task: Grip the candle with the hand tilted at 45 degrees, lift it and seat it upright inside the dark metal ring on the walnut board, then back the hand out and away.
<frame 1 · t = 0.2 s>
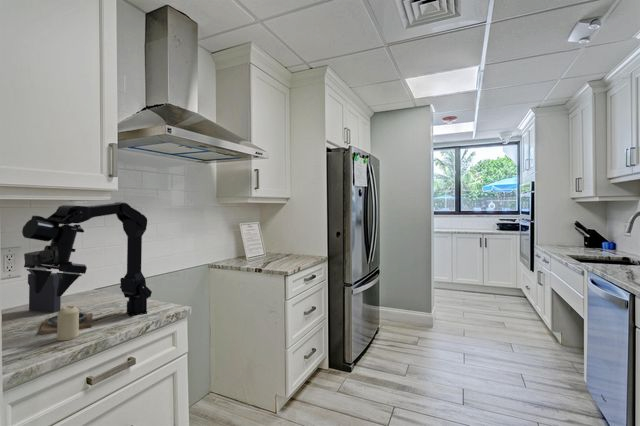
hand: (47, 294, 99), 16 cm above the countertop, tool tilted 15°, fingers open, 9 cm apart
navy upright box: (44, 311, 131), on the countertop
dock: (68, 324, 117), on the countertop
candle: (68, 338, 106), on the countertop
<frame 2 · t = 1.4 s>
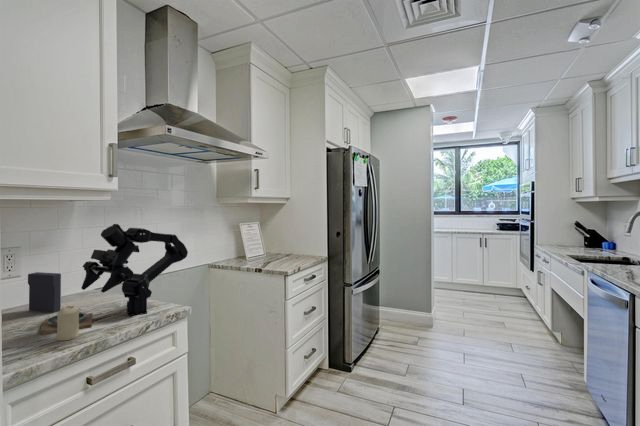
hand: (92, 290, 114), 13 cm above the countertop, tool tilted 45°, fingers open, 9 cm apart
nothing on the countertop moved.
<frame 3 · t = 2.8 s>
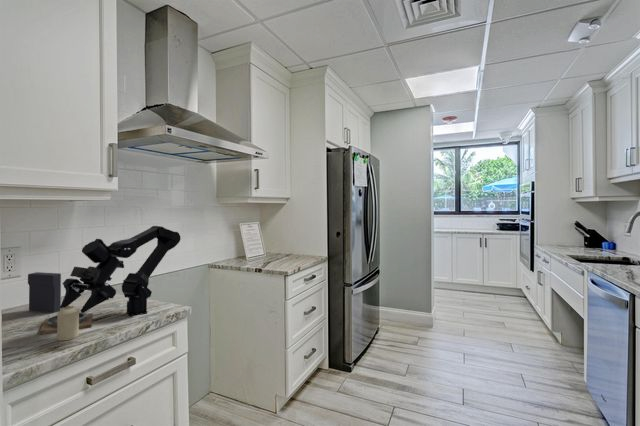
hand: (71, 310, 107), 9 cm above the countertop, tool tilted 45°, fingers open, 9 cm apart
nothing on the countertop moved.
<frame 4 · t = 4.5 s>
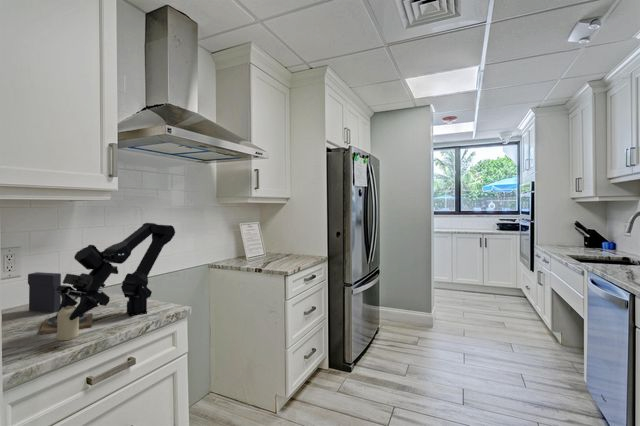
hand: (63, 318, 105), 7 cm above the countertop, tool tilted 45°, fingers closed on candle, 5 cm apart
candle: (68, 338, 106), on the countertop, touching gripper
everything else where it was.
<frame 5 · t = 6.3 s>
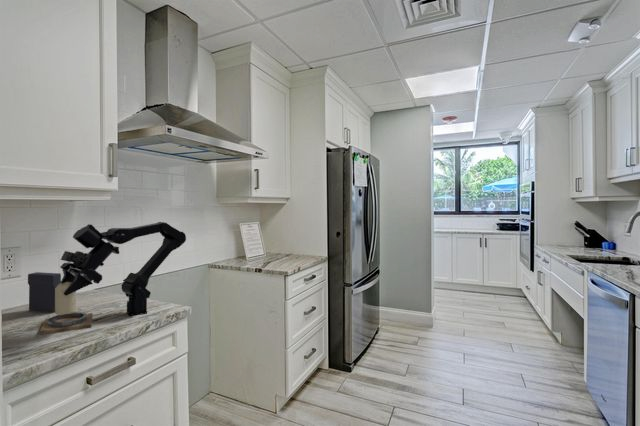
hand: (60, 293, 110), 13 cm above the countertop, tool tilted 45°, fingers closed on candle, 5 cm apart
candle: (65, 312, 111), point 6 cm above the countertop, touching gripper
everything else where it was.
when the fingers open (8 cm above the countertop, at t = 8.5 s): candle stays where it is, resting on dock.
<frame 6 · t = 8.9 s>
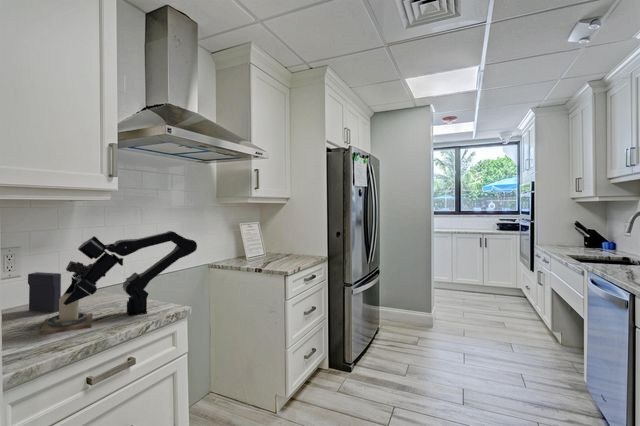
hand: (63, 301, 116), 9 cm above the countertop, tool tilted 45°, fingers open, 9 cm apart
candle: (68, 321, 118), point 1 cm above the countertop, touching dock
everything else where it was.
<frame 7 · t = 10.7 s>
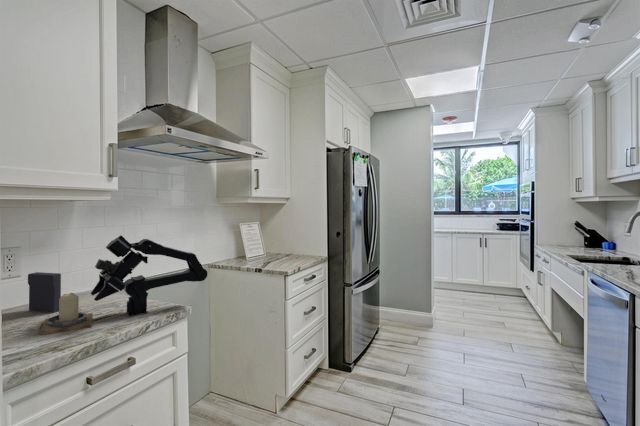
hand: (93, 297, 122), 8 cm above the countertop, tool tilted 45°, fingers open, 9 cm apart
nothing on the countertop moved.
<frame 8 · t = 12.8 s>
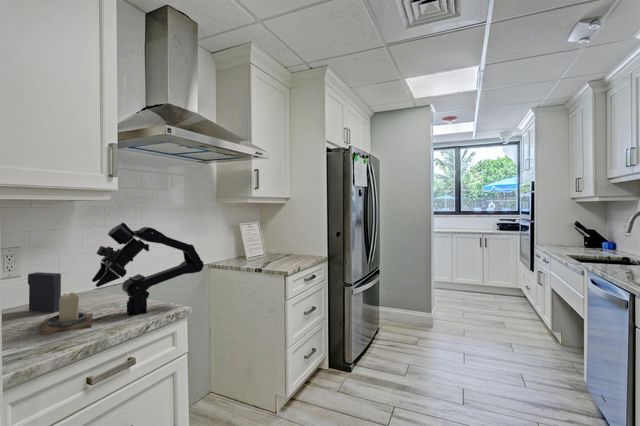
hand: (94, 283, 122), 14 cm above the countertop, tool tilted 45°, fingers open, 9 cm apart
nothing on the countertop moved.
at the end: candle 0.2 cm off-centre on the dock, point 0.8 cm above the dock's base; candle tilted 0°; the gripper is holding nothing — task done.
